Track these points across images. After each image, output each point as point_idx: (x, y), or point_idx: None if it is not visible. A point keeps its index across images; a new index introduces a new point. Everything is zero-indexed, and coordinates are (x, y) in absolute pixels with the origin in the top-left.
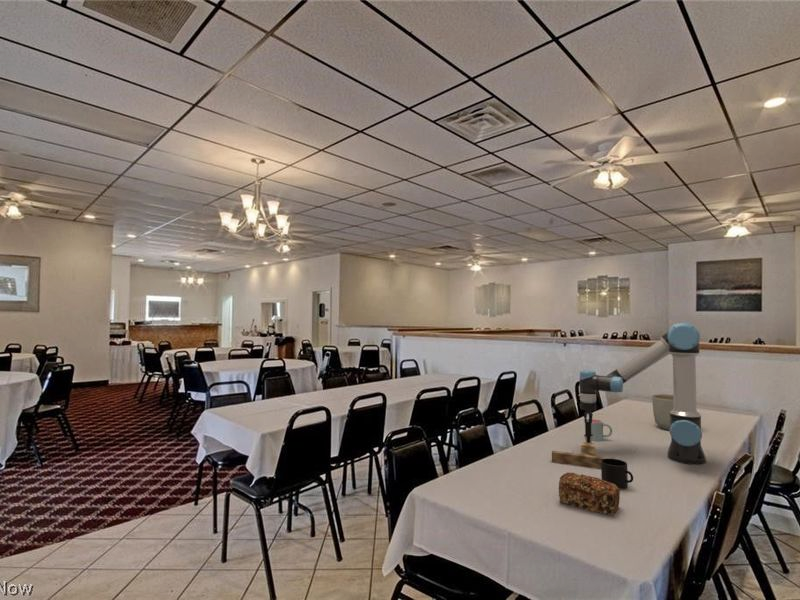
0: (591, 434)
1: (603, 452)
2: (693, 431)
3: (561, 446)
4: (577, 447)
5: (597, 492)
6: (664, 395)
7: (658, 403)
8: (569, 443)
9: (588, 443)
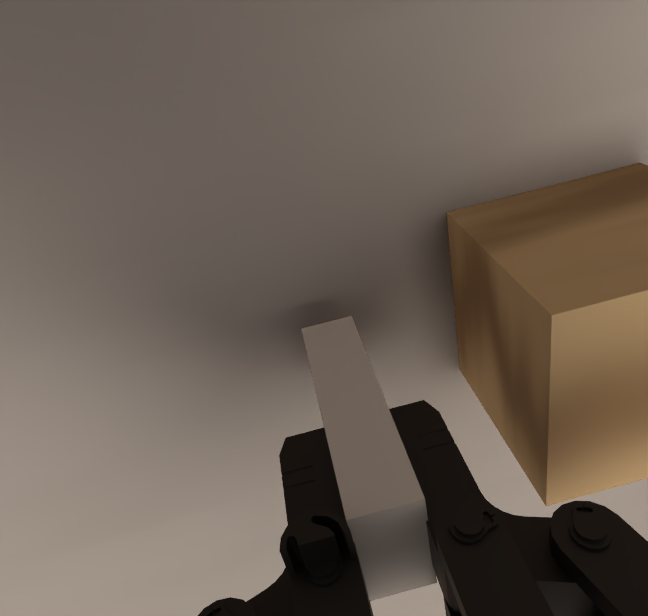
0: (338, 562)
1: (166, 153)
2: None
3: None
4: (192, 497)
5: None
6: None
7: None
8: (87, 602)
9: (624, 399)
